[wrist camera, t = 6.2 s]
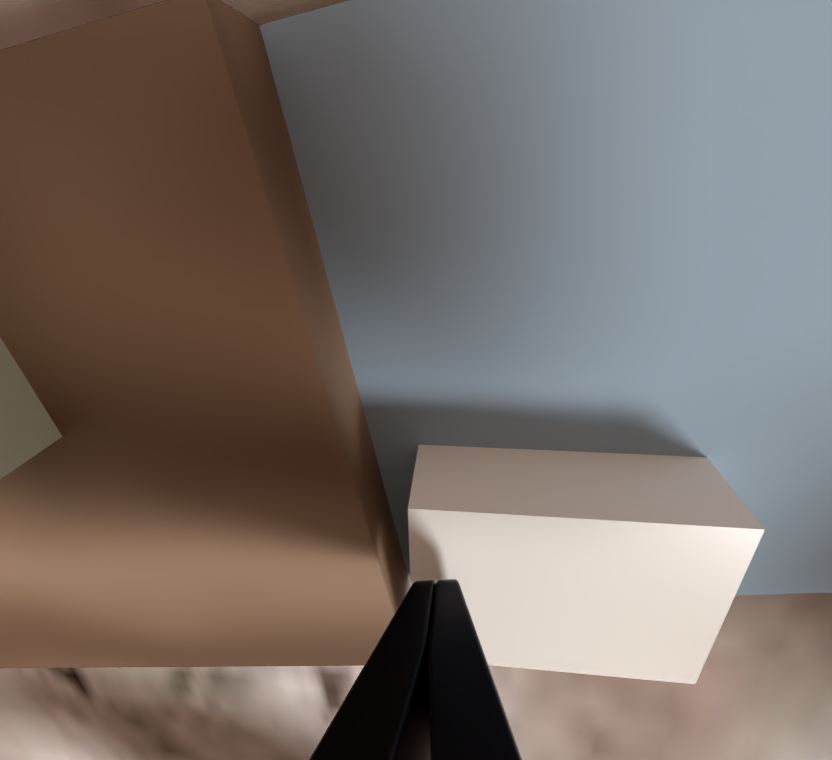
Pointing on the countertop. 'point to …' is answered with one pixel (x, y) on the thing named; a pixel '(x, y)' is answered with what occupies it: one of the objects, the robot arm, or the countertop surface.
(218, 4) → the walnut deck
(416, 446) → the slate mat
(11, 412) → the sage green cuboid
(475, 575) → the cream rectangular block
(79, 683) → the countertop surface
